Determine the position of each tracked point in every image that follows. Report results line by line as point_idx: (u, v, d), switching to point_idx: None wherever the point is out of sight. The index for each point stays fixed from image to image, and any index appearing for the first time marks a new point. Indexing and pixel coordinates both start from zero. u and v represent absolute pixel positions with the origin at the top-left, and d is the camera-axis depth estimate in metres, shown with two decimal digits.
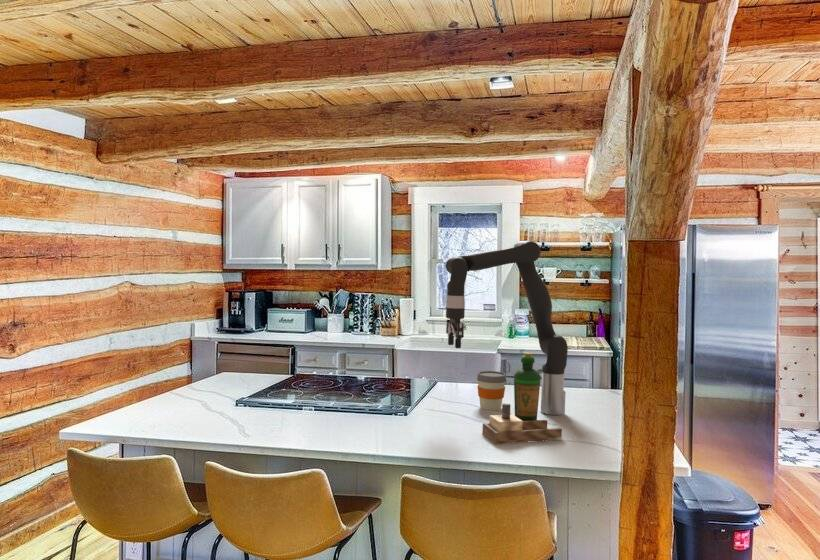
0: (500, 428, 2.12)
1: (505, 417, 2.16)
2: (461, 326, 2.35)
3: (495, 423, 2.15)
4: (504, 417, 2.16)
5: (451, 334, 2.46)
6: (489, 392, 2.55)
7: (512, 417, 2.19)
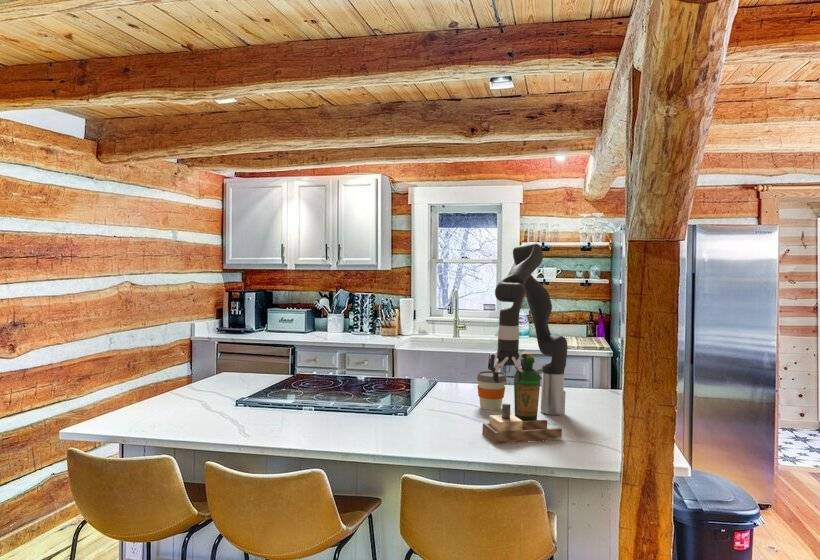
0: (500, 428, 2.12)
1: (505, 417, 2.16)
2: None
3: (495, 423, 2.15)
4: (504, 417, 2.16)
5: None
6: (489, 392, 2.55)
7: (512, 417, 2.19)
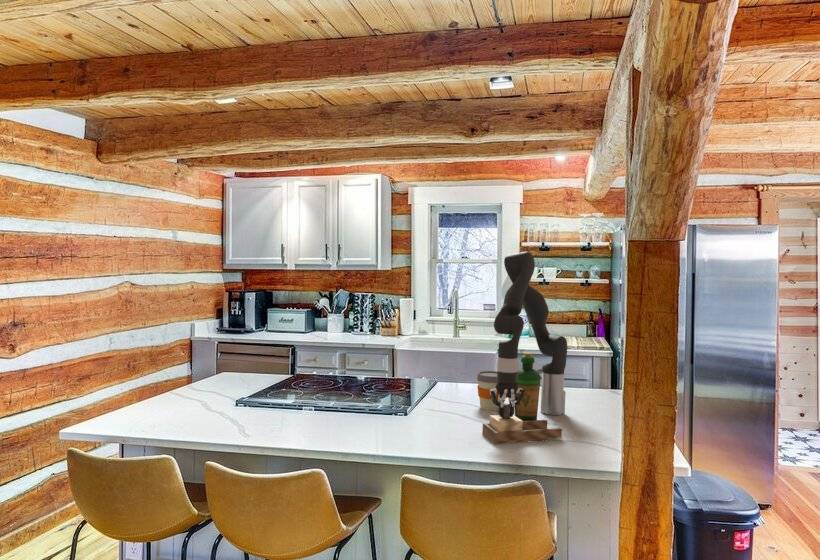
0: (500, 428, 2.12)
1: (505, 417, 2.16)
2: None
3: (496, 423, 2.15)
4: (504, 417, 2.16)
5: None
6: None
7: (512, 417, 2.19)
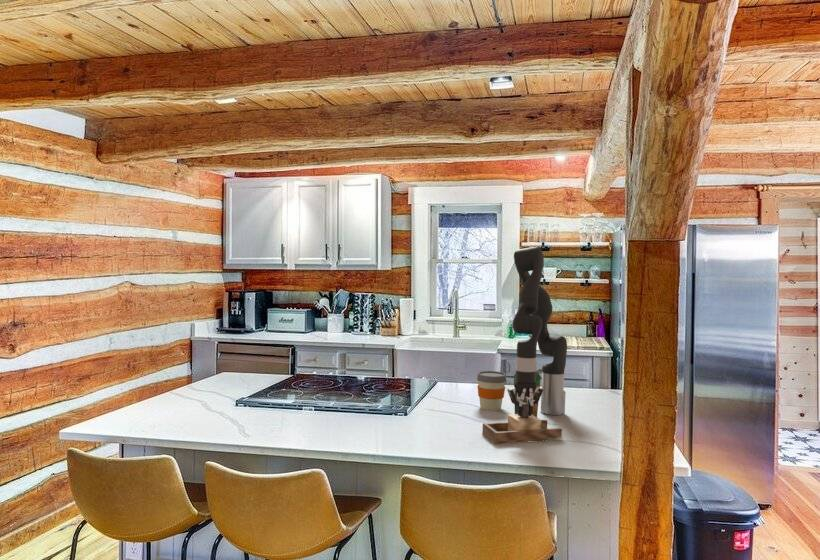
0: (519, 427, 2.14)
1: (524, 416, 2.18)
2: None
3: (514, 422, 2.17)
4: (523, 416, 2.18)
5: None
6: (489, 392, 2.55)
7: (530, 416, 2.21)
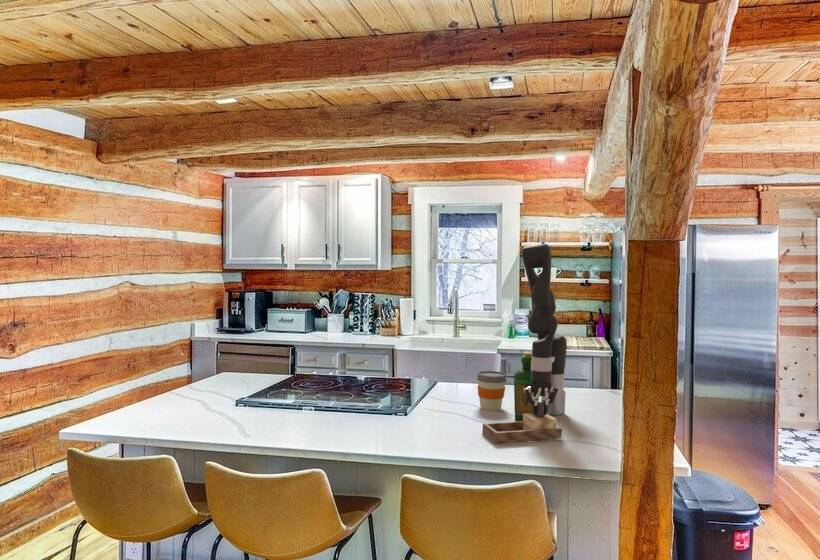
0: (534, 426, 2.16)
1: (539, 415, 2.20)
2: None
3: (530, 421, 2.19)
4: (538, 415, 2.20)
5: None
6: (489, 392, 2.55)
7: (545, 415, 2.22)
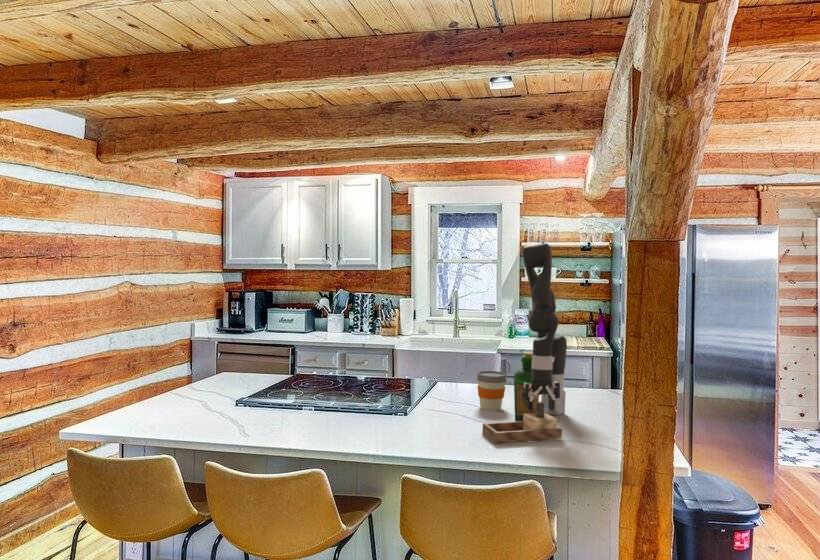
0: (535, 426, 2.16)
1: (539, 415, 2.20)
2: None
3: (530, 421, 2.19)
4: (538, 415, 2.20)
5: None
6: (489, 392, 2.55)
7: (546, 415, 2.22)
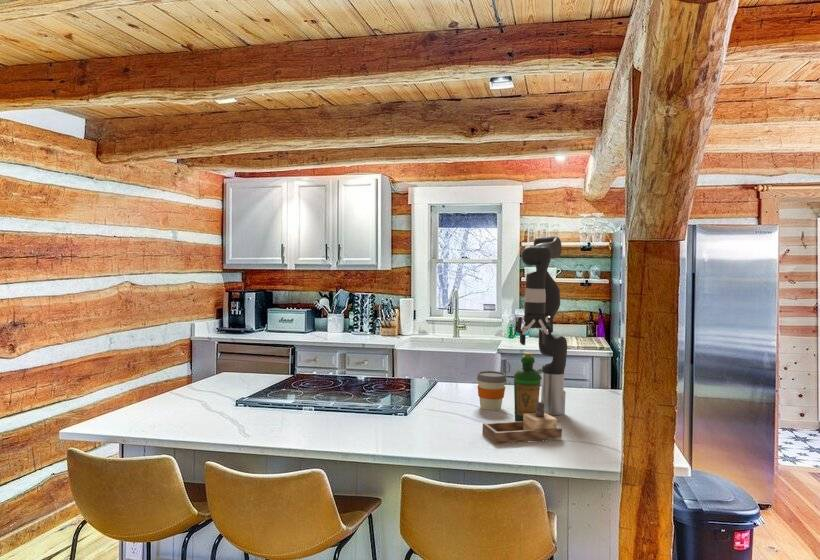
0: (535, 426, 2.16)
1: (539, 415, 2.20)
2: None
3: (530, 421, 2.19)
4: (538, 415, 2.20)
5: None
6: (489, 392, 2.55)
7: (546, 415, 2.22)
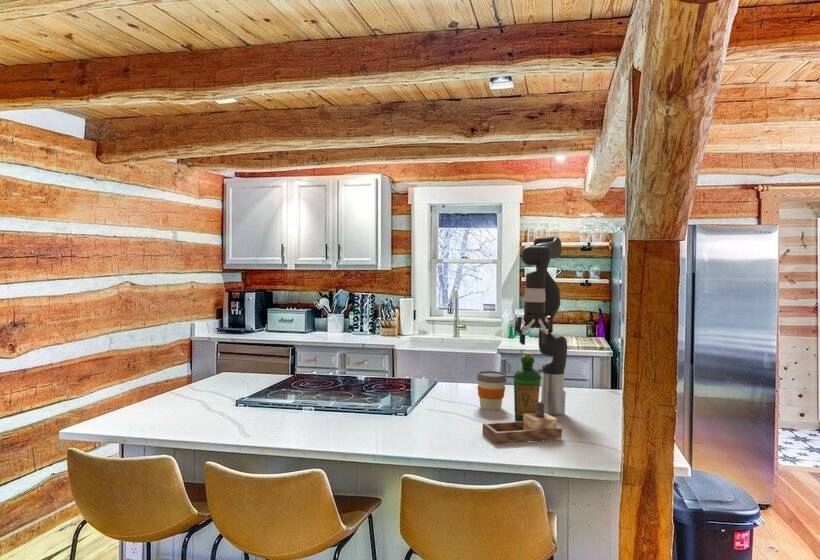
0: (535, 426, 2.16)
1: (539, 415, 2.20)
2: None
3: (530, 421, 2.19)
4: (538, 415, 2.20)
5: None
6: (489, 392, 2.55)
7: (546, 415, 2.22)
